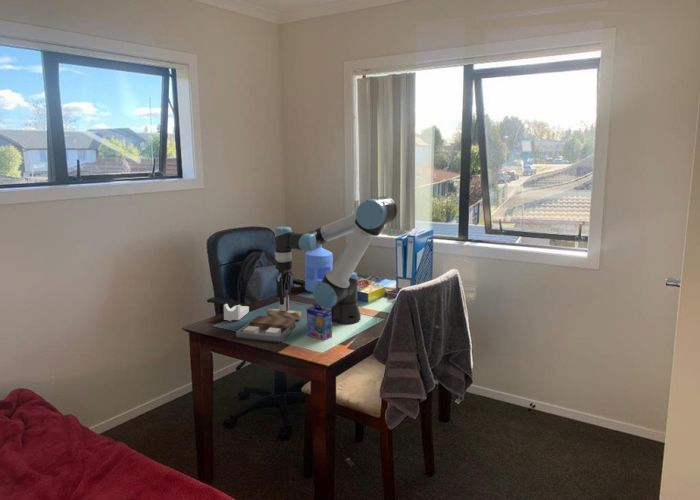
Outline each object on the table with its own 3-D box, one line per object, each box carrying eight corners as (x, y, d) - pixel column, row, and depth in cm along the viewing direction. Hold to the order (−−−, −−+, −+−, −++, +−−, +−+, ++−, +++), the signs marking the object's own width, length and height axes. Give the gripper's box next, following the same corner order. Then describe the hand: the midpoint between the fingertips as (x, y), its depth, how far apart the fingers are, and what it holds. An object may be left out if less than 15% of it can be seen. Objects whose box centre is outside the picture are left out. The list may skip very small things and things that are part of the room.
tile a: (280, 334, 229) (280, 328, 229) (276, 338, 225) (276, 332, 224) (270, 333, 231) (270, 327, 230) (265, 337, 226) (265, 331, 225)
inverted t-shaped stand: (301, 317, 250) (301, 290, 248) (299, 319, 248) (298, 292, 245) (269, 314, 255) (269, 288, 252) (267, 316, 252) (266, 289, 249)
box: (289, 333, 232) (289, 328, 231) (280, 342, 221) (279, 337, 221) (247, 329, 237) (247, 323, 236) (236, 337, 226) (235, 332, 226)
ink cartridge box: (306, 335, 230) (305, 303, 227) (314, 332, 234) (314, 300, 231) (324, 340, 224) (324, 307, 221) (332, 336, 229) (332, 304, 226)
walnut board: (295, 326, 240) (295, 319, 240) (287, 333, 232) (287, 325, 231) (258, 322, 245) (258, 315, 244) (249, 329, 237) (249, 321, 236)
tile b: (259, 332, 231) (259, 327, 231) (254, 336, 226) (254, 330, 226) (248, 331, 232) (248, 325, 232) (243, 335, 228) (243, 329, 227)
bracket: (238, 322, 247) (238, 306, 245) (224, 321, 248) (223, 305, 247) (249, 313, 259) (248, 298, 258) (235, 312, 261) (234, 297, 259)
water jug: (309, 285, 311) (309, 237, 305) (335, 286, 307) (336, 238, 302) (301, 292, 296) (300, 242, 290) (328, 294, 292) (328, 243, 287)
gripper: (282, 256, 254) (283, 304, 259) (268, 263, 239) (269, 314, 244) (297, 257, 252) (298, 305, 257) (284, 264, 237) (285, 315, 242)
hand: (284, 309), depth 250 cm, fingers closed on inverted t-shaped stand, 3 cm apart
